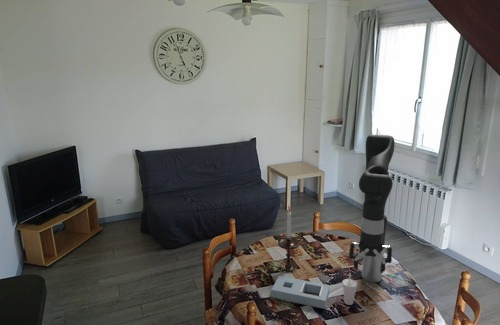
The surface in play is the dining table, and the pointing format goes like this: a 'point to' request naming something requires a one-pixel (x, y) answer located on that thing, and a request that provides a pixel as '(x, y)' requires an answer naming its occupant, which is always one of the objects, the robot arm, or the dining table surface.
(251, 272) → the dining table surface
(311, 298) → the socket block
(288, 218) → the candlestick
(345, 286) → the smoothie
